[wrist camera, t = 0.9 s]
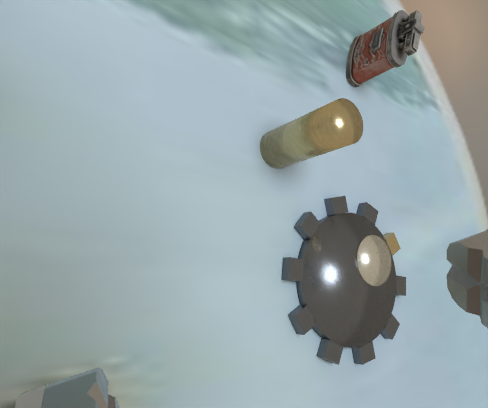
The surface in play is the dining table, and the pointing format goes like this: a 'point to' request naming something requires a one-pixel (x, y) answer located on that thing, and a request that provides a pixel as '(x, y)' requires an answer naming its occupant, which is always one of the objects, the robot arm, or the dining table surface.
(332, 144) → the pin
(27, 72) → the dining table surface
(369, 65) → the lighter
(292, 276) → the sprocket plate
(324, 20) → the dining table surface
